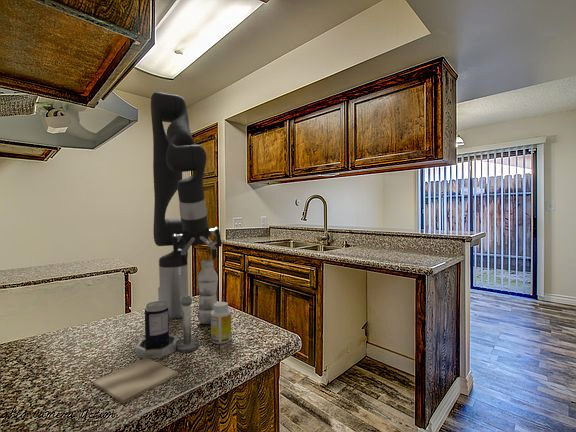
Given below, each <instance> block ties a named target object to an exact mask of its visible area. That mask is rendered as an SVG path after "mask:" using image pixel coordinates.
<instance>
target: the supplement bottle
mask: <svg viewBox="0 0 576 432" xmlns="http://www.w3.org/2000/svg"><path fill="white" fill-rule="evenodd" d="M232 335H233V334H232V311H231V309H230V308H229V303H228V302H226V301H217V303H215V304H214V305H213V311H212V312H211V324H210V341H211V342H212V343H214V344H216V345H221V344H227V343H228V342H230V341H231V340H232Z"/></svg>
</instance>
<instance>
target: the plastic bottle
mask: <svg viewBox="0 0 576 432" xmlns="http://www.w3.org/2000/svg"><path fill="white" fill-rule="evenodd" d="M200 263H201V264H200V267H201V269H200V271H199V273H198V274H197V277H196V278H197V279H196V280H197V285H198V286H197V287H198V295H199V296H198V297H199V298H198V301H199V304H198V311H197V319H198V322H199V323H200V324H202V325H211V312H212V311H213V305H214V304H215V303H217V302H218V299H217V292H218V282H219V281H218V280H219V276H218V273H217V271H216V270H215V269H214V261H213V259H204V260H201V262H200Z"/></svg>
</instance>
